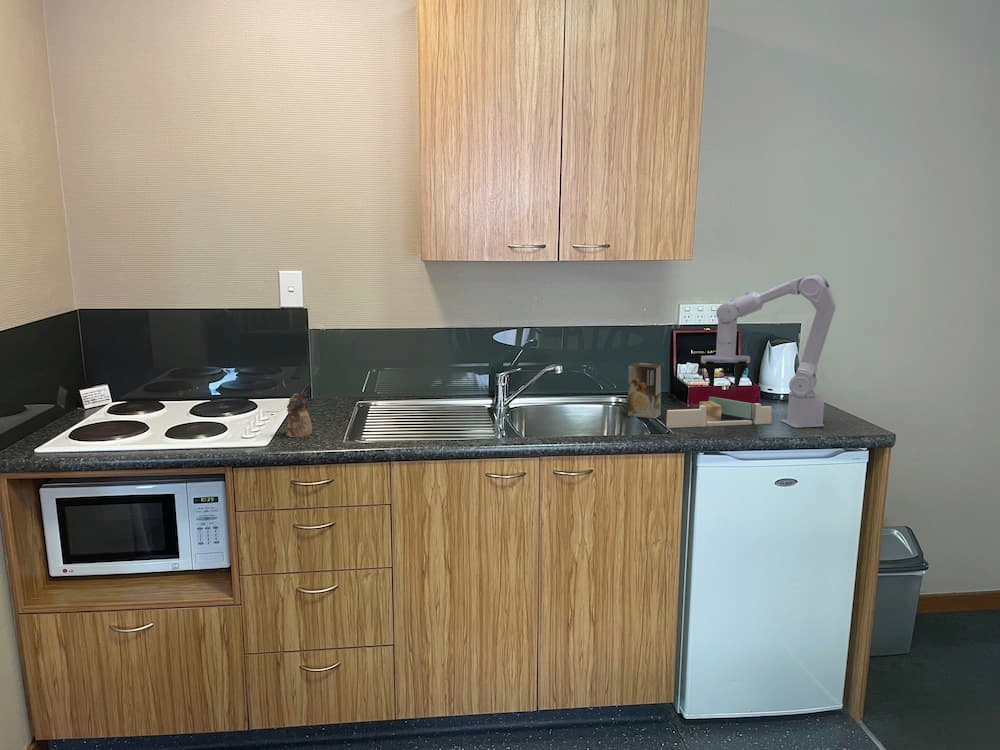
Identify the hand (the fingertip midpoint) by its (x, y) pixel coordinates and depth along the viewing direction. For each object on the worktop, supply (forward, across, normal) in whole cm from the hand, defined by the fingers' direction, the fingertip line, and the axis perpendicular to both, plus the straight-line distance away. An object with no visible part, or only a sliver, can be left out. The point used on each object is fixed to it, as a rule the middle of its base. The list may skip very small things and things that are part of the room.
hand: (724, 385), depth 240 cm
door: (+8, +1, -5) cm, 10 cm away
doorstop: (+10, -5, -5) cm, 12 cm away
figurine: (+10, -126, -20) cm, 128 cm away
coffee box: (+10, -24, +1) cm, 26 cm away
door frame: (+9, -4, -12) cm, 16 cm away
